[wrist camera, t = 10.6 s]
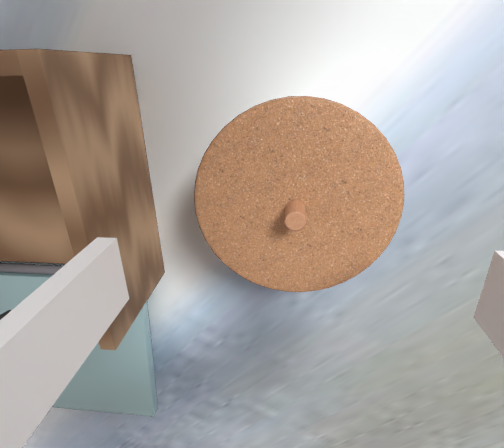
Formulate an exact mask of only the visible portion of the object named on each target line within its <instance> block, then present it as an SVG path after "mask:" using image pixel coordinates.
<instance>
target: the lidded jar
mask: <svg viewBox="0 0 504 448" xmlns="http://www.w3.org/2000/svg"><path fill="white" fill-rule="evenodd" d="M194 201H195V210H196V216H197V219H198V223H199V226H200V229H201V231H202V233H203V235H204V237H205V240H206V241H207V243H208V244H209V246H210V247H211V249H212V250H213V252H214V253H215V254H216V255H217V256H218V257H219V259H220V260H221V261H222V262H223V263H224V264H225V265H227V266H228V267H229V268H230V269H231V270H233V271H234V272H235V273H237V274H239V275H240V276H242V277H243V278H245V279H247V280H249V281H251V282H254V283H256V284H258V285H261V286H264V287H267V288H270V289H275V290H281V291H291V292H306V291H315V290H320V289H325V288H329V287H332V286H335V285H337V284H340V283H343V282H345V281H347V280H349V279H351V278H353V277H355V276H356V275H358V274H359V273H361V272H362V271H363V270H365V269H366V268H367V267H369V266H370V265H371V264H372V263H373V262H374V261H375V260H376V259H377V258H378V257H379V256H380V255H381V254H382V252H383V251H384V250H385V249H386V247H387V246H388V245H389V243H390V241H391V239H392V238H393V236H394V234H395V232H396V230H397V227H398V224H399V221H400V219H401V216H402V210H403V204H404V182H403V177H402V171H401V167H400V165H399V162H398V159H397V157H396V154H395V152H394V150H393V149H392V147H391V146H390V144H389V142H388V141H387V139H386V138H385V137H384V135H383V134H382V133H381V132H380V131H379V130H378V129H377V128H376V127H375V125H373V124H372V123H371V122H370V121H368V120H367V119H366V118H365V117H363V116H362V115H361V114H359V113H358V112H356V111H354V110H352V109H350V108H348V107H346V106H344V105H343V104H340V103H337V102H334V101H331V100H327V99H324V98H317V97H310V96H288V97H283V98H278V99H273V100H269V101H267V102H264V103H261V104H259V105H256V106H254V107H252V108H250V109H248V110H247V111H245V112H243V113H241V114H240V115H238V116H237V117H236V118H235V119H233V120H232V121H231V122H230V123H228V124H227V125H226V126H225V127H224V128H223V129H222V130H221V131H220V132H219V134H218V135H217V136H216V137H215V138H214V139H213V141H212V142H211V144H210V145H209V147H208V149H207V150H206V152H205V154H204V156H203V158H202V161H201V163H200V166H199V168H198V172H197V177H196V181H195V192H194Z"/></svg>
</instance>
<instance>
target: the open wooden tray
mask: <svg viewBox="0 0 504 448" xmlns="http://www.w3.org/2000/svg"><path fill="white" fill-rule="evenodd" d="M97 237H103V238H117V242H118V246H119V251H120V256H121V261H122V266H123V270H124V275H125V280H126V285H127V290H128V294H129V300H128V301H127V303H126V304H125V305H124V307H123V308H122V310H121V311H120V312H119V314H118V315H117V317H116V318H115V319H114V321H113V322H112V324H111V325H110V326H109V328H108V329H107V331H106V332H105V333H104V335H103V336H102V338H101V339H100V340H99V345H100V349H103V350H116V349H117V347H118V346H119V344H120V343H121V341H122V339H123V338H124V336H125V335H126V333H127V331H128V330H129V328H130V327H131V325H132V323H133V322H134V320H135V319H136V317H137V315H138V314H139V312H140V311H141V309H142V308H143V306H144V304H145V303H146V301H147V300H148V298H149V296H150V295H151V293H152V292H153V290H154V288H155V287H156V285H157V284H158V282H159V280H160V279H161V277H162V276H163V274H164V272H165V271H164V265H163V258H162V252H161V245H160V239H159V232H158V226H157V220H156V213H155V207H154V200H153V194H152V187H151V181H150V174H149V168H148V162H147V155H146V149H145V142H144V136H143V129H142V123H141V116H140V110H139V104H138V97H137V91H136V84H135V78H134V71H133V65H132V58H131V55H122V54H107V53H92V52H77V51H62V50H47V49H16V50H0V261H16V262H38V263H60V264H67V263H68V262H69V261H70V260H71V259H72V258H74V257H75V256H76V255H77V254H78V253H79V252H81V251H82V250H83V249H84V248H85V247H87V246H88V245H89V244H90V243H91V242H92V241H94V240H95V239H96V238H97Z"/></svg>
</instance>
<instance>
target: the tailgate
mask: <svg viewBox="0 0 504 448" xmlns="http://www.w3.org/2000/svg"><path fill="white" fill-rule="evenodd" d="M62 267H63V266H57V265H35V264H13V263H0V314H2V313H4V312H6V311H8V310H13V309H14V308H15V307H16V306H17V305H19V304H20V303H21V302H22V301H23V300H24V299H26V298H27V297H28V296H29V295H30V294H31V293H33V292H34V291H35V290H36V289H37V288H38V287H40V286H41V285H42V284H43V283H44V282H45V281H47V280H48V279H49V278H50V277H51V276H53V275H54V274H55V273H56V272H57V271H58V270H60V269H61V268H62ZM52 407H58V408H68V409H79V410H89V411H99V412H110V413H120V414H130V415H141V416H151V417H154V416H155V414H156V411H157V409H158V404H157V394H156V384H155V374H154V364H153V354H152V344H151V334H150V324H149V314H148V304H147V301H146V303H145V304H144V306H143V308H142V309H141V311H140V312H139V314H138V315H137V317H136V319H135V320H134V322H133V323H132V325H131V327H130V328H129V330H128V331H127V333H126V335H125V336H124V338H123V339H122V341H121V343H120V344H119V346H118V347H117V349H116V350H103V349H100V345H99V342H98V343H97V345H96V346H95V347H94V349H93V350H92V352H91V353H90V354H89V356H88V357H87V358H86V360H85V361H84V363H83V364H82V365H81V367H80V368H79V370H78V371H77V372H76V374H75V375H74V377H73V378H72V379H71V381H70V382H69V384H68V385H67V386H66V388H65V389H64V391H63V392H62V393H61V395H60V396H59V398H58V399H57V400H56V402H55V403H54V405H53V406H52Z"/></svg>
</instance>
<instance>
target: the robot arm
mask: <svg viewBox="0 0 504 448" xmlns="http://www.w3.org/2000/svg"><path fill="white" fill-rule="evenodd" d="M128 300H129V294H128V290H127V285H126V280H125V275H124V270H123V266H122V261H121V256H120V251H119V246H118V242H117V238H103V237H97V238H96V239H95V240H94V241H92V242H91V243H90V244H89V245H88V246H87V247H85V248H84V249H83V250H82V251H81V252H79V253H78V254H77V255H76V256H75V257H74V258H72V259H71V260H70V261H69V262H68V263H67V264H65V265H64V266H63V267H62V268H61V269H60V270H58V271H57V272H56V273H55V274H54V275H53V276H51V277H50V278H49V279H48V280H47V281H45V282H44V283H43V284H42V285H41V286H40V287H38V288H37V289H36V290H35V291H34V292H33V293H31V294H30V295H29V296H28V297H27V298H26V299H24V300H23V301H22V302H21V303H20V304H19V305H17V306H16V307H15V308H14V309H13V310H8V311H6V312H4V313H2V314H0V448H23V446H24V445H25V444H26V442H27V441H28V439H29V438H30V437H31V435H32V434H33V432H34V431H35V430H36V428H37V427H38V426H39V424H40V423H41V421H42V420H43V419H44V417H45V416H46V414H47V413H48V412H49V410H50V409H51V407H52V406H53V405H54V403H55V402H56V400H57V399H58V398H59V396H60V395H61V393H62V392H63V391H64V389H65V388H66V386H67V385H68V384H69V382H70V381H71V379H72V378H73V377H74V375H75V374H76V372H77V371H78V370H79V368H80V367H81V365H82V364H83V363H84V361H85V360H86V358H87V357H88V356H89V354H90V353H91V352H92V350H93V349H94V347H95V346H96V345H97V343H98V342H99V340H100V339H101V338H102V336H103V335H104V333H105V332H106V331H107V329H108V328H109V326H110V325H111V324H112V322H113V321H114V319H115V318H116V317H117V315H118V314H119V312H120V311H121V310H122V308H123V307H124V305H125V304H126V303H127V301H128ZM474 318H475V320H476V321H477V323H478V324H479V325H480V327H481V328H482V329H483V331H484V332H485V333H486V335H487V336H488V337H489V339H490V340H491V342H492V343H493V344H494V346H495V347H496V348H497V350H498V351H499V352H500V354H501V355H502V357H503V358H504V251H495V252H494V255H493V258H492V261H491V264H490V267H489V271H488V274H487V277H486V280H485V283H484V286H483V289H482V293H481V296H480V299H479V302H478V305H477V308H476V311H475V314H474Z"/></svg>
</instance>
